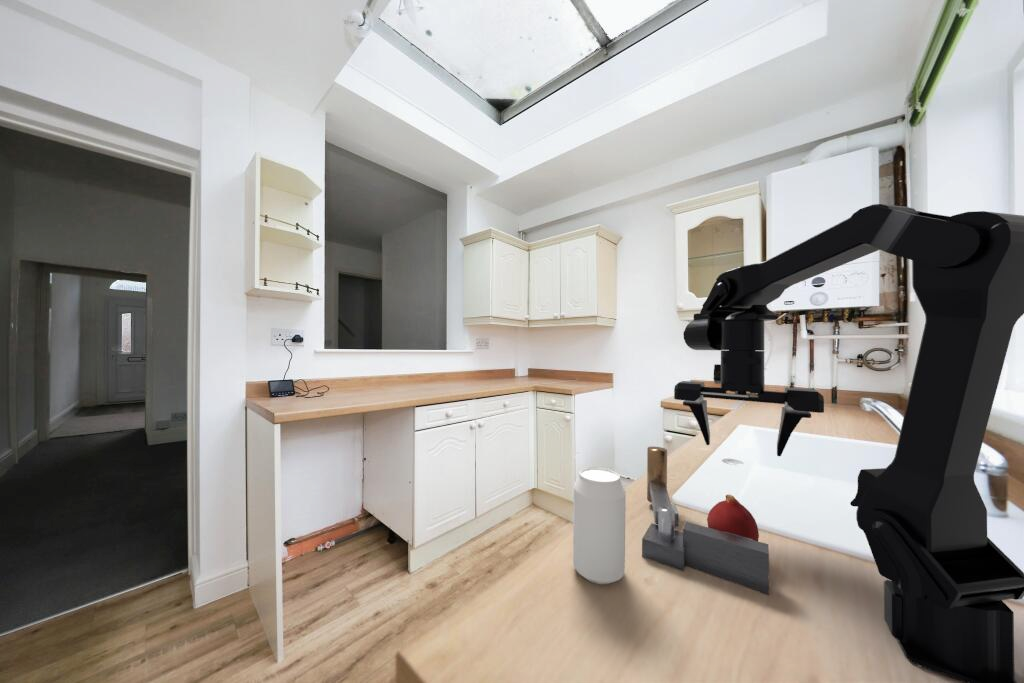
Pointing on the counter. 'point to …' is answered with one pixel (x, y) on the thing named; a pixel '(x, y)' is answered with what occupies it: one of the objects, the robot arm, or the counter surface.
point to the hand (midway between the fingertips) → (741, 449)
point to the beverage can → (599, 525)
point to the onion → (733, 519)
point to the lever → (658, 481)
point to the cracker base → (707, 551)
